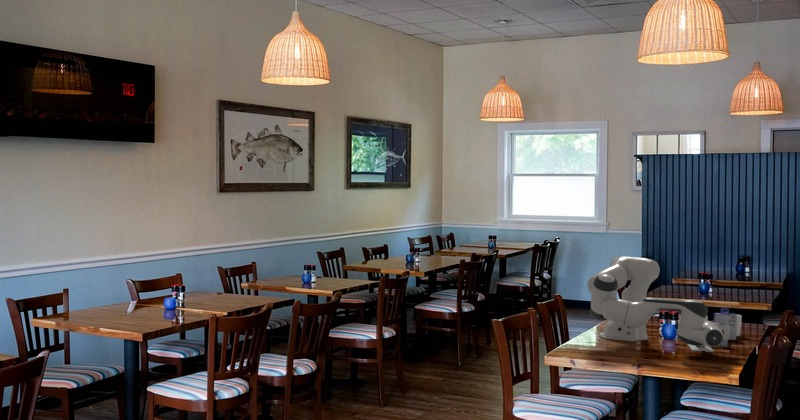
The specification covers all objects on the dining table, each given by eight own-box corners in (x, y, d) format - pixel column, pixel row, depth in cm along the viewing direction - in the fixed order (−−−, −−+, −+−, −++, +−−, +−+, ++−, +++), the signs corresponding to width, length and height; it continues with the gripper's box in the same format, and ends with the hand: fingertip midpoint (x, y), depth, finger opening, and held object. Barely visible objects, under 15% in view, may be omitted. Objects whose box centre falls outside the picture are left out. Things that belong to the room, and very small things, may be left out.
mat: (692, 350, 352) (692, 349, 352) (687, 345, 364) (687, 344, 364) (713, 352, 350) (713, 350, 350) (708, 346, 362) (708, 345, 362)
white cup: (724, 335, 392) (724, 315, 391) (723, 333, 399) (724, 313, 399) (741, 337, 389) (742, 316, 388) (741, 334, 396) (741, 314, 396)
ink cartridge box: (734, 338, 385) (735, 308, 385) (736, 340, 379) (737, 310, 379) (712, 337, 387) (713, 307, 386) (714, 339, 381) (715, 309, 381)
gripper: (682, 337, 343) (677, 331, 357) (732, 340, 339) (726, 334, 352) (682, 323, 343) (678, 317, 356) (732, 325, 339) (726, 320, 352)
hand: (702, 326), depth 354 cm, fingers open, 4 cm apart
